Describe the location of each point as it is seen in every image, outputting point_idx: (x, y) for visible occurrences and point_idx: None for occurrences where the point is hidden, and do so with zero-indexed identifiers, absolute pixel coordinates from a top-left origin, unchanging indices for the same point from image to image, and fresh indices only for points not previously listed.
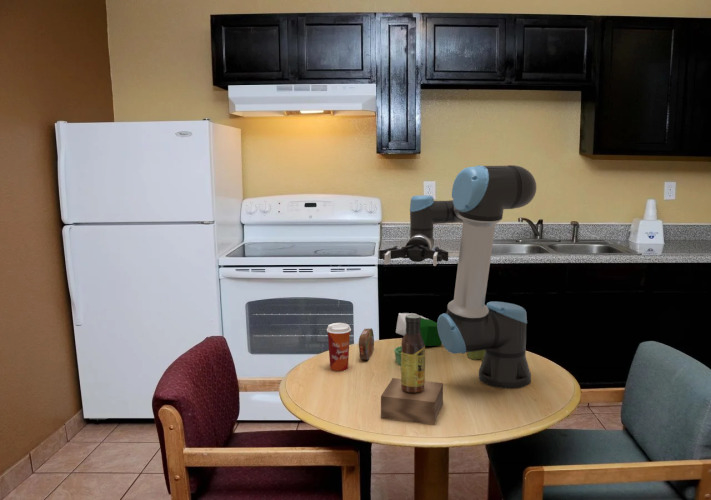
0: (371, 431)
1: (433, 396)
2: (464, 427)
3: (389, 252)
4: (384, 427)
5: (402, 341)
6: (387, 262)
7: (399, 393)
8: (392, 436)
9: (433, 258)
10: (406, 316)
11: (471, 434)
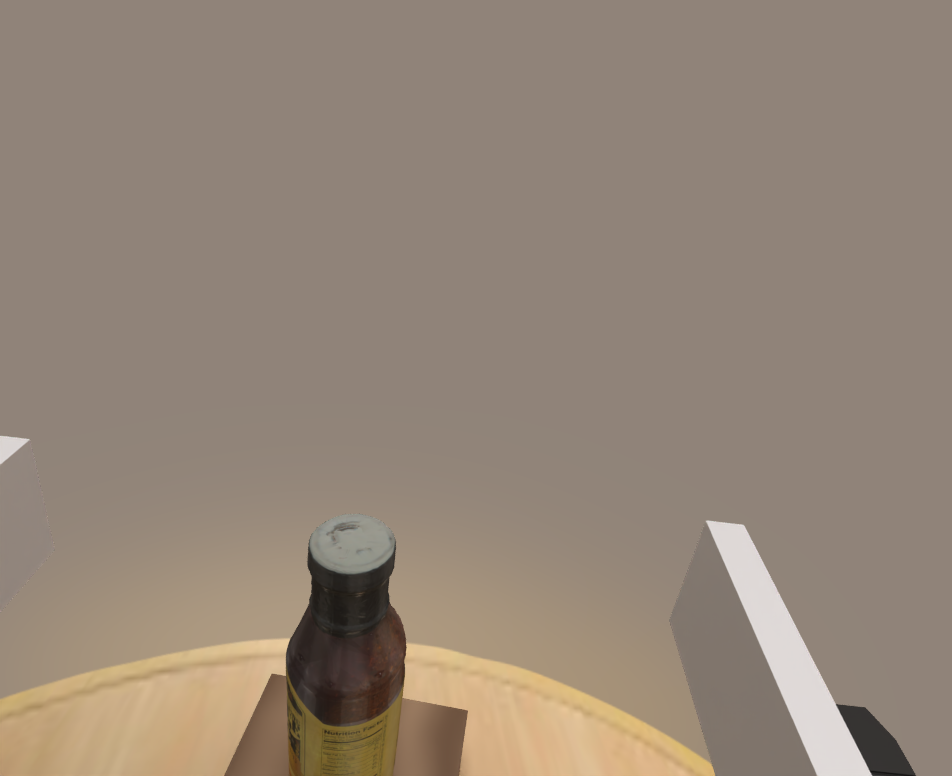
0: (475, 676)
1: (266, 719)
2: (174, 716)
3: (794, 721)
4: (439, 701)
5: (401, 623)
6: (681, 625)
7: (398, 738)
8: (412, 653)
9: (31, 468)
10: (390, 534)
11: (170, 674)
